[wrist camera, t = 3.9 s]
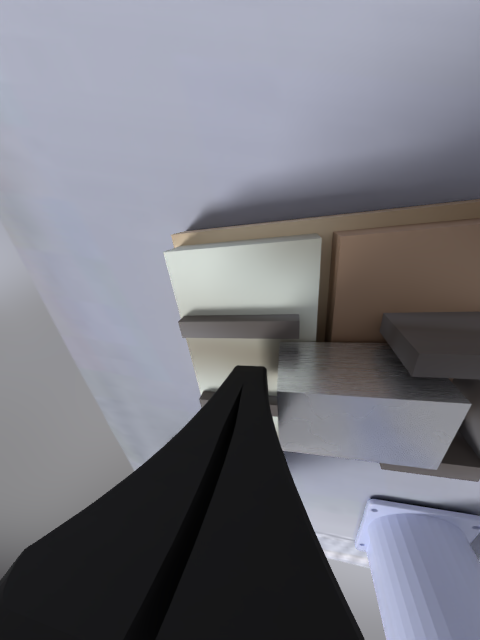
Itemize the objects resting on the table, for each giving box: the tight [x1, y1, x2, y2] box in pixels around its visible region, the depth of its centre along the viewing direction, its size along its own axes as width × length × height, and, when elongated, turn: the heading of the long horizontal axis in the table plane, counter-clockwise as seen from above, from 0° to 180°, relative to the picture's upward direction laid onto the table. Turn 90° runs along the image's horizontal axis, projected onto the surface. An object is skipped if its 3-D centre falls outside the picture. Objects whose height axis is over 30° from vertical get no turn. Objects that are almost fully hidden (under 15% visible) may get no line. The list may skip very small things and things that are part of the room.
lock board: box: [163, 199, 480, 482], centre depth 10 cm, size 12×13×6 cm
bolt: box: [277, 342, 472, 470], centre depth 8 cm, size 3×5×3 cm, turn 97°
